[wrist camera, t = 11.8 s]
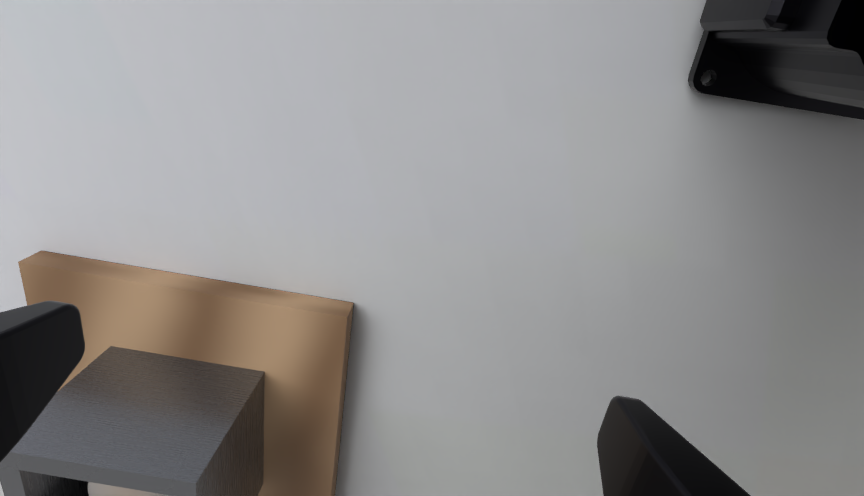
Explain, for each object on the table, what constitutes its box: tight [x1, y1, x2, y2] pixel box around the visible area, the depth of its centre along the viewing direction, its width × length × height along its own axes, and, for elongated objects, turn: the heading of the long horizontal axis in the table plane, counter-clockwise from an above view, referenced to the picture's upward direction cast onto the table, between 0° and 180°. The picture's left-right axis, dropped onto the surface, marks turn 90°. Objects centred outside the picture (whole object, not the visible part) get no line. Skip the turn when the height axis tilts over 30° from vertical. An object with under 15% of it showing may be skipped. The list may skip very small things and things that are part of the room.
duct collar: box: [0, 346, 265, 496], centre depth 21 cm, size 7×7×6 cm
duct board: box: [18, 251, 354, 496], centre depth 22 cm, size 14×14×6 cm
